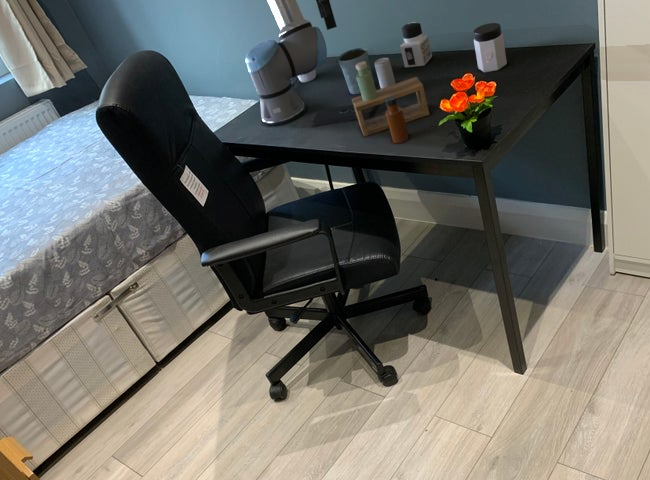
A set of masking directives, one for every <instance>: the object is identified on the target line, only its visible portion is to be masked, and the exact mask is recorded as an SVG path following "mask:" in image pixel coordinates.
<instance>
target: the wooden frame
mask: <svg viewBox="0 0 650 480" xmlns="http://www.w3.org/2000/svg"><path fill="white" fill-rule="evenodd" d="M376 92H377V97H376V98H375V99H373V100H370V101H364V100H363V99H362V95H359V96H356V97H353V98H351V101H352V105H354V108H355V112H356V115H357V118H358V119H357V121H358V125H359V128H360V130H361V132H362V134H363V137H364V138H365V137H367V136H371V135H374V134H376V133H379V132H382V131H385V130H389V125H388V121H387V117H386V114H382V115H379V116H376V117H373V118H370V119H368V120H365V118H363V115H362V112H361V110H364V109H367V108H370V107H372V106H375V105H377V106H378V105H381V104H385V99H386V98H387V97H390V96H396V98H397V99H399V98H402V97H404V96H405V97H406V96H408V95H410V94H414V93H415V95H416V100H417V103H415V104H412V105H409V106H406V107H403V108H402V111H403V115H404V119H405V123H406V124H407V123H409V122H412V121H415V120H417V119H421V118H423V117H427V116H430V111H429V106H428V101H427V98H426V93H425V88H424V84H423V83H422V82H421V81H420V79H419V78H418V77H417V76H415V77H411V78H408V79H405V80H403V81H400V82H397V83H395V84H394V85H391V86H388V87H385V88H382V89H381V88H379V89H376Z"/></svg>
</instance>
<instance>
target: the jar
mask: <svg viewBox="0 0 650 480" xmlns="http://www.w3.org/2000/svg"><path fill="white" fill-rule="evenodd" d="M473 36H474V39H473V44H474V52H475V57H476V62H477V68H478V70H480V71H482V73H489V72H490V73H491V72H497V71H499V70H501V69H502V68H503V67H505V66H506V65H508V62H507V55H506V48H505V40H504V34H503V33H502V28H501V23H497V22H490V23H484V24H482V25H480V26H477V27H476V28H475V29H473Z"/></svg>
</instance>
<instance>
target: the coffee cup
mask: <svg viewBox="0 0 650 480" xmlns="http://www.w3.org/2000/svg"><path fill="white" fill-rule="evenodd" d="M297 77H298V81H300V82H301V83H308V82H311V81H313V80H315V79H316V77H317V72H316V69H312V70H310V71H308V72H305V73H303V74H301V75H299V76H297Z"/></svg>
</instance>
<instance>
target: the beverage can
mask: <svg viewBox="0 0 650 480" xmlns="http://www.w3.org/2000/svg"><path fill="white" fill-rule="evenodd" d="M374 68H375V72H376V75H377V79H378V82H379V83H378V84H379V87H380V89H382V88H385V87H388V86H391V85H394V84H396V80H395V76H394V72H393V68H392V64H391V60H390V58H389V57H381V58H378V59H376V60H375V61H374Z"/></svg>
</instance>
